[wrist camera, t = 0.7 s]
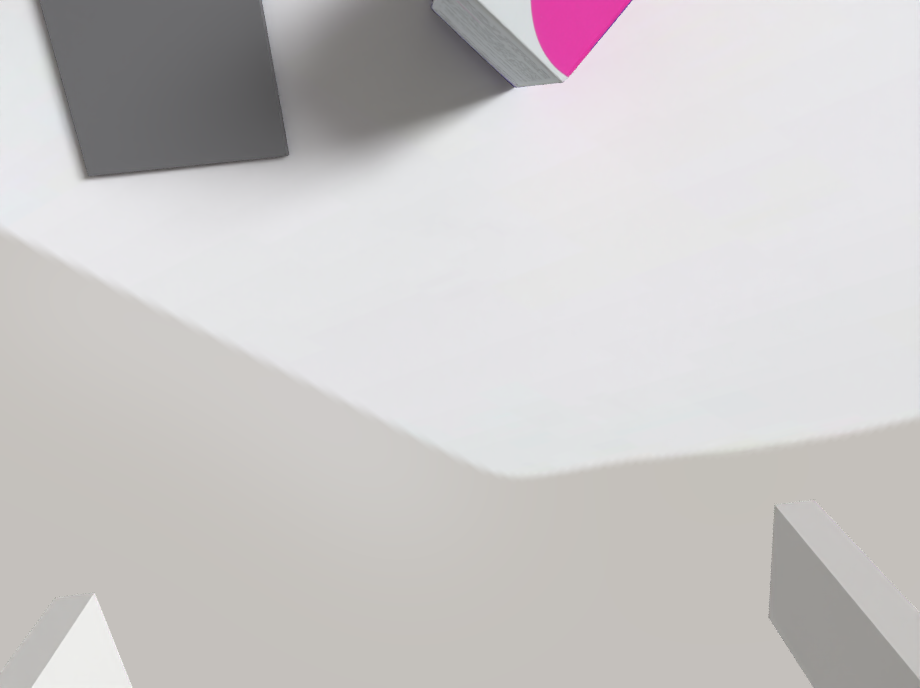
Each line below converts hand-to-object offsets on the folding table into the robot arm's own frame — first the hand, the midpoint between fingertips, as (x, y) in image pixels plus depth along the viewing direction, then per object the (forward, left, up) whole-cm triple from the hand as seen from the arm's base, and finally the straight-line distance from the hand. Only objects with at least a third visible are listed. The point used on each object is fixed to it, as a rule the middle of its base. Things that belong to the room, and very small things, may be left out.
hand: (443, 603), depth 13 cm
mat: (-12, -12, -26) cm, 31 cm away
